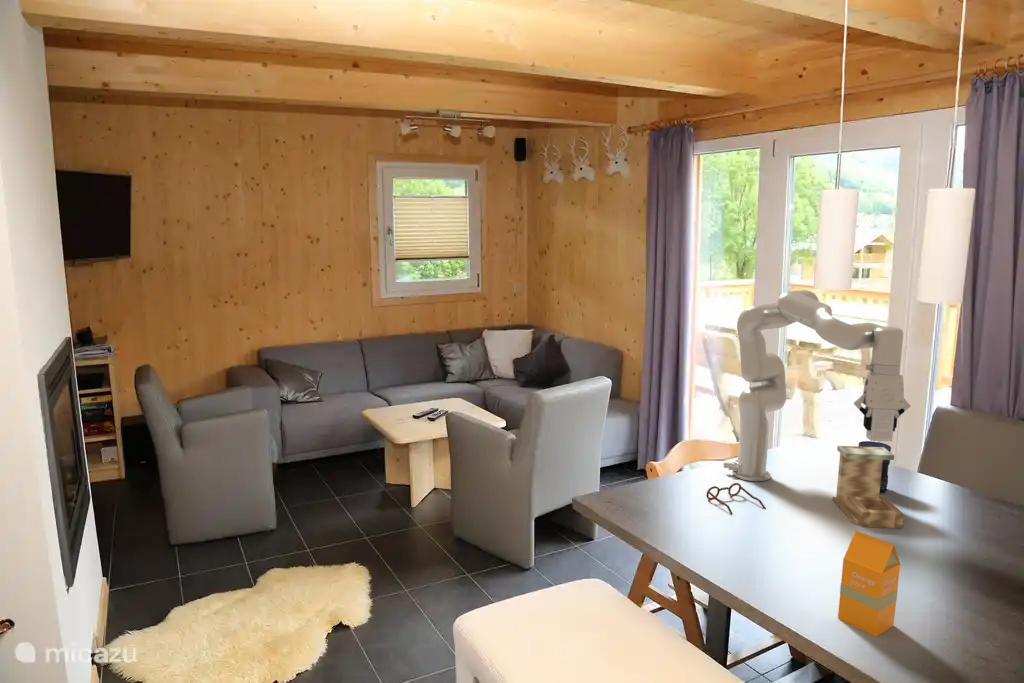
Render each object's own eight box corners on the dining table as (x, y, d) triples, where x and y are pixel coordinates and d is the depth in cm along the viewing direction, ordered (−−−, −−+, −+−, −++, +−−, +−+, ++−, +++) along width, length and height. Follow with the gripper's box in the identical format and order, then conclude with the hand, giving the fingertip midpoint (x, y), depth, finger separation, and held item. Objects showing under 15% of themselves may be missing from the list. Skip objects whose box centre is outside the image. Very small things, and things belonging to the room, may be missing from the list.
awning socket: (856, 526, 212) (862, 467, 209) (832, 499, 232) (837, 445, 229) (906, 528, 211) (912, 469, 208) (877, 501, 231) (883, 446, 228)
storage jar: (849, 482, 247) (853, 440, 245) (878, 483, 247) (882, 441, 244) (862, 493, 237) (866, 449, 235) (892, 494, 237) (897, 450, 234)
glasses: (738, 495, 236) (739, 481, 235) (766, 510, 224) (767, 495, 223) (705, 501, 231) (706, 486, 230) (731, 516, 219) (732, 501, 218)
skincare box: (886, 437, 215) (890, 398, 213) (892, 442, 211) (896, 401, 209) (864, 436, 216) (868, 397, 214) (870, 441, 212) (874, 401, 210)
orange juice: (875, 636, 156) (884, 549, 152) (837, 618, 163) (844, 534, 159) (894, 625, 160) (903, 540, 157) (855, 607, 167) (863, 526, 164)
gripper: (858, 371, 207) (853, 432, 210) (922, 373, 205) (916, 434, 208) (849, 366, 214) (844, 425, 217) (910, 367, 213) (904, 427, 216)
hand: (879, 429), depth 213 cm, fingers closed on skincare box, 6 cm apart
